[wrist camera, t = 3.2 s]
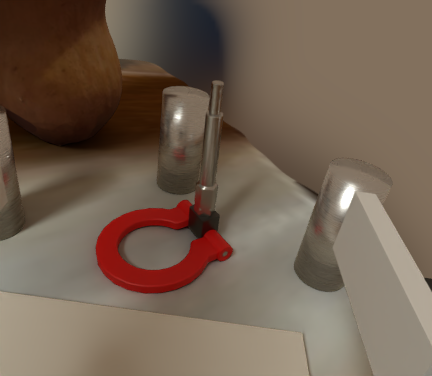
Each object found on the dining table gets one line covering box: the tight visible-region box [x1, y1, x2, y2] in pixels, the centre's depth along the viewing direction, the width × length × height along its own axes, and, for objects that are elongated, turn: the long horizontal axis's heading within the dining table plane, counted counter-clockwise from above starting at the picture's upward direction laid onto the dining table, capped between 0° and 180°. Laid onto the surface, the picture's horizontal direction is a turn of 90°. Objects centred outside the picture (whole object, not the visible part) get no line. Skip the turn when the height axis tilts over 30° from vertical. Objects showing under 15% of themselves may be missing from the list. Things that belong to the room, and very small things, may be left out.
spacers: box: [0, 86, 392, 292], centre depth 26 cm, size 23×20×9 cm
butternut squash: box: [0, 0, 122, 146], centre depth 34 cm, size 14×13×25 cm
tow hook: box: [96, 81, 233, 293], centre depth 25 cm, size 8×13×9 cm
